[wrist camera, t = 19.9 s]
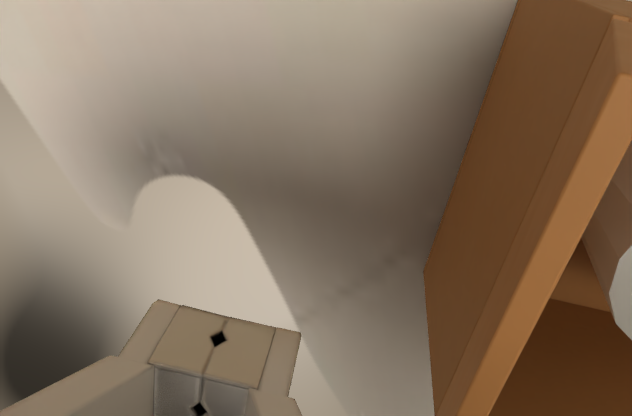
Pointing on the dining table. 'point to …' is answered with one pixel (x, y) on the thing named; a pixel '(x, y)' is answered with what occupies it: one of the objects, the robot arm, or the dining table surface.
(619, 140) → the flap
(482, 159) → the carton
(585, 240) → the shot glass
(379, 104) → the dining table surface
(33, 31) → the dining table surface
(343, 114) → the dining table surface
